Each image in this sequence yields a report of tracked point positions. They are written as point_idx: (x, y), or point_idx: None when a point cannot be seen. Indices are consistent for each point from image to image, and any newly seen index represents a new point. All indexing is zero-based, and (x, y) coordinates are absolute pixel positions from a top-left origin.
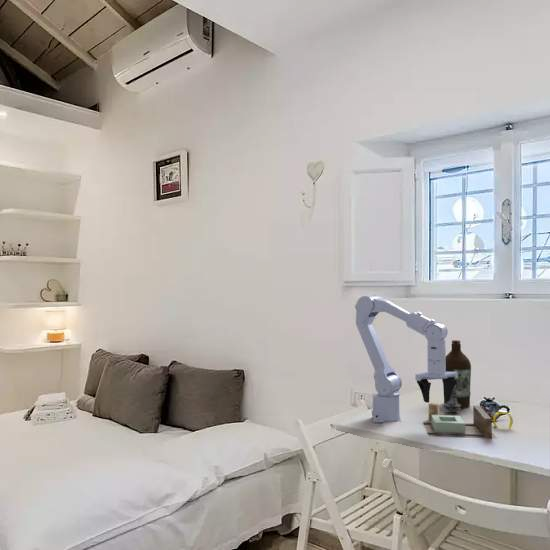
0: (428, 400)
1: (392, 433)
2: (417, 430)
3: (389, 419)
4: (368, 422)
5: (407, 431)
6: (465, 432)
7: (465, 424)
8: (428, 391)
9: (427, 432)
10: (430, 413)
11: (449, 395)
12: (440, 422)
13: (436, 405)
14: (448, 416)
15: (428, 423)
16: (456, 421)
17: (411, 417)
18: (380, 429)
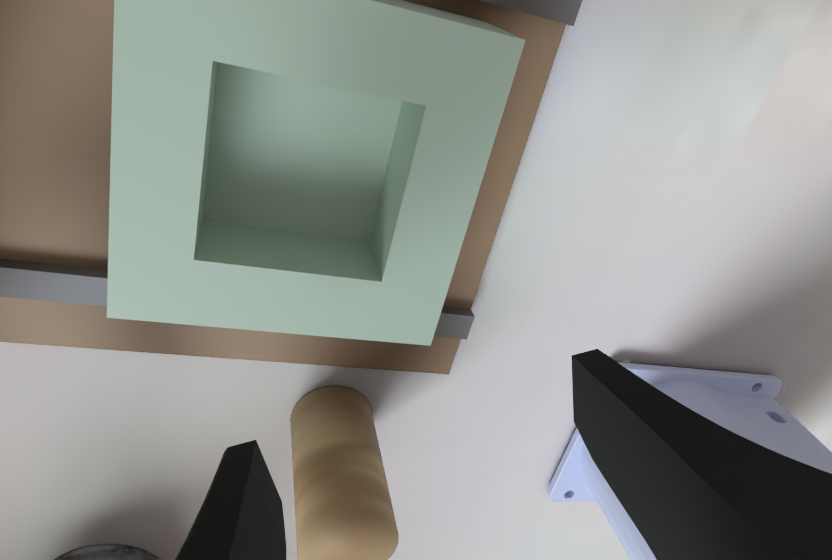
0: (599, 365)
1: (813, 112)
2: (573, 185)
3: (694, 389)
4: (799, 381)
5: (668, 161)
6: None
7: (59, 271)
8: (703, 451)
9: (554, 52)
10: (376, 453)
11: (228, 505)
12: (464, 32)
13: (329, 515)
14: (262, 289)
15: None
16: (227, 60)
17: (460, 498)
18: (828, 224)
